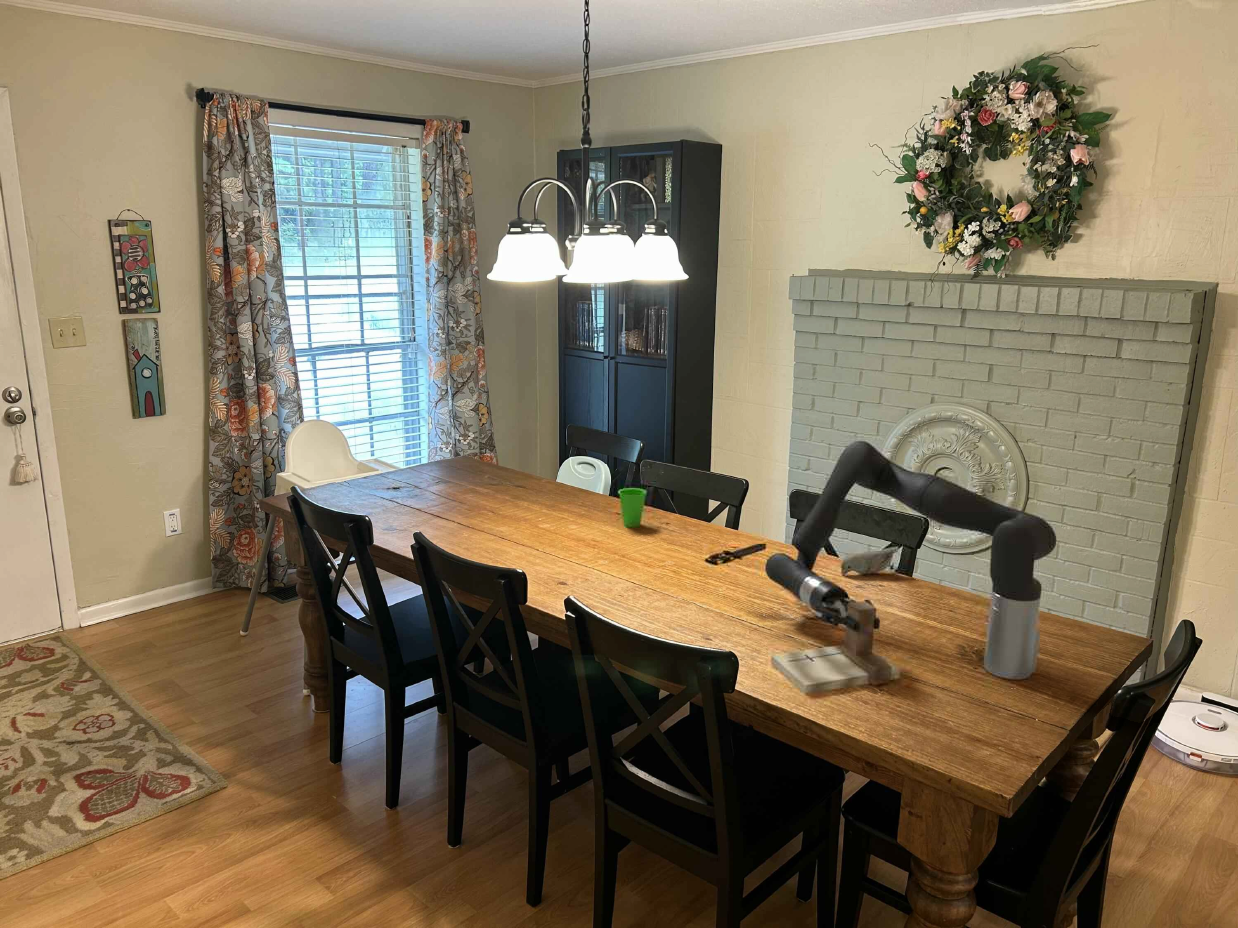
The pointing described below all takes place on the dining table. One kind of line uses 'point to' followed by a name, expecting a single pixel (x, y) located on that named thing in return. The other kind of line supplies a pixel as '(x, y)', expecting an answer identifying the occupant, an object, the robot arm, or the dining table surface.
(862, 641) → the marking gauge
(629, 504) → the cup
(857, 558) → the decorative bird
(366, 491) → the dining table surface
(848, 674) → the maple board
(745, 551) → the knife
